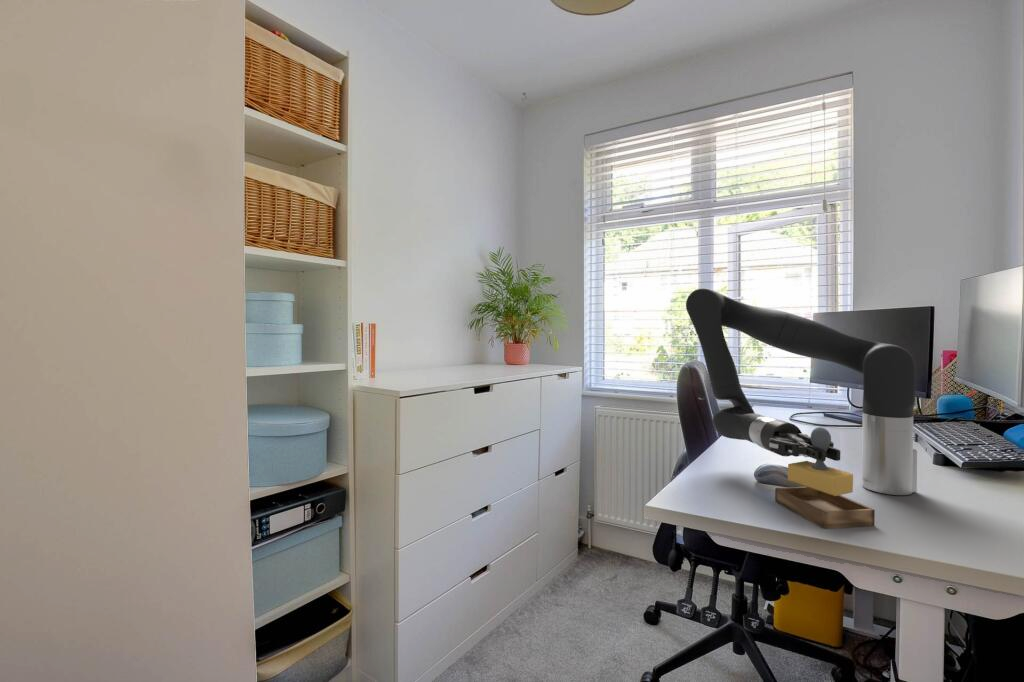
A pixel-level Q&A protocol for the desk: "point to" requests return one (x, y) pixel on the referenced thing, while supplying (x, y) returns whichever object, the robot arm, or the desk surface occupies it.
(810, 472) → the rubber stamp
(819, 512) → the tray
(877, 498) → the desk surface
